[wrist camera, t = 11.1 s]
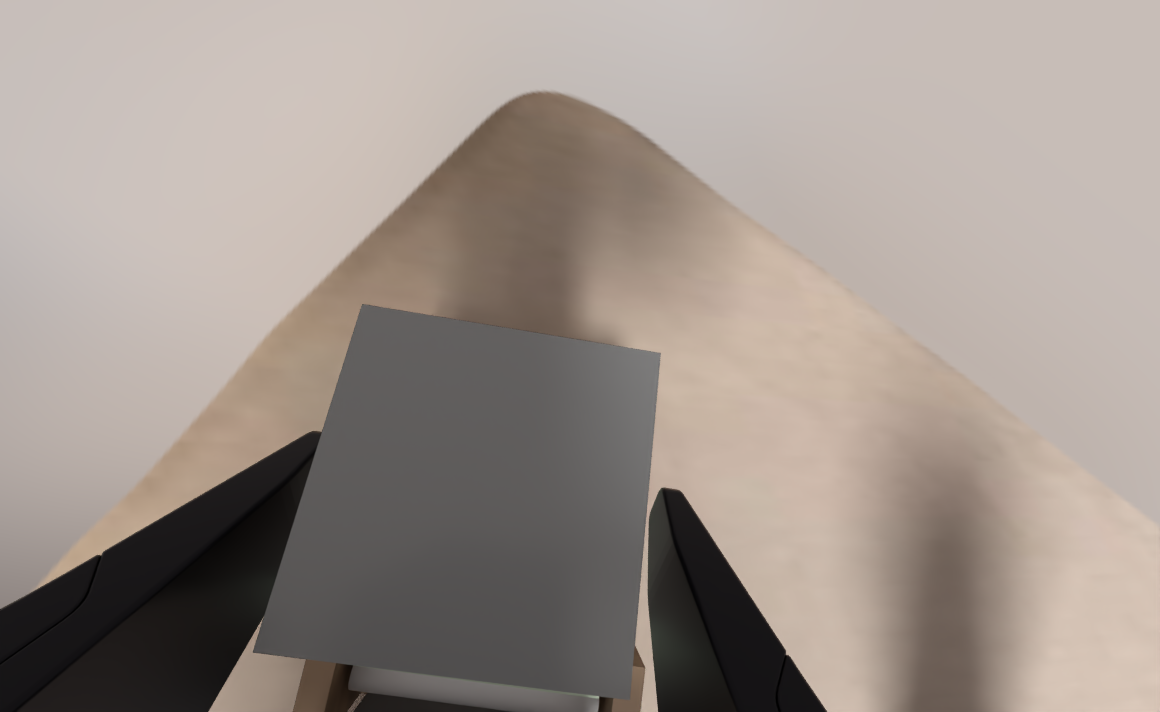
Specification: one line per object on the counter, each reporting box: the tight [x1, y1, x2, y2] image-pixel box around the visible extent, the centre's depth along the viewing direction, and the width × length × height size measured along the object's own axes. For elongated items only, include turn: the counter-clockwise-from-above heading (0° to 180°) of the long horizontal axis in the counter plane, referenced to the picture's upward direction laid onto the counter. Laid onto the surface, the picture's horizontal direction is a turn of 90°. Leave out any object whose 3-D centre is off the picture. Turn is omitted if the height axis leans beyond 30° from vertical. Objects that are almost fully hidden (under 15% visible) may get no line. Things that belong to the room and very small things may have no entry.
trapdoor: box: [348, 665, 599, 712], centre depth 18 cm, size 16×9×6 cm, turn 171°
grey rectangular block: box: [253, 304, 661, 700], centre depth 13 cm, size 5×5×12 cm
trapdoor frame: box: [293, 647, 645, 712], centre depth 19 cm, size 16×12×6 cm
